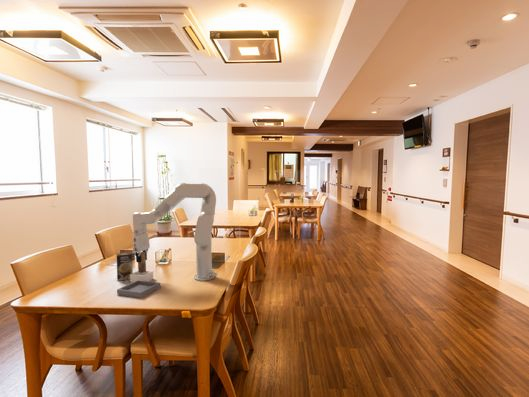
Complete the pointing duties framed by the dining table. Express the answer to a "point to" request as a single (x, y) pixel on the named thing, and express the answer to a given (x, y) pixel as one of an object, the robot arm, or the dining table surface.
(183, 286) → the dining table surface
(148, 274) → the white square block
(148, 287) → the tray
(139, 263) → the dowel
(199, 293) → the dining table surface
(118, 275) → the coffee box
